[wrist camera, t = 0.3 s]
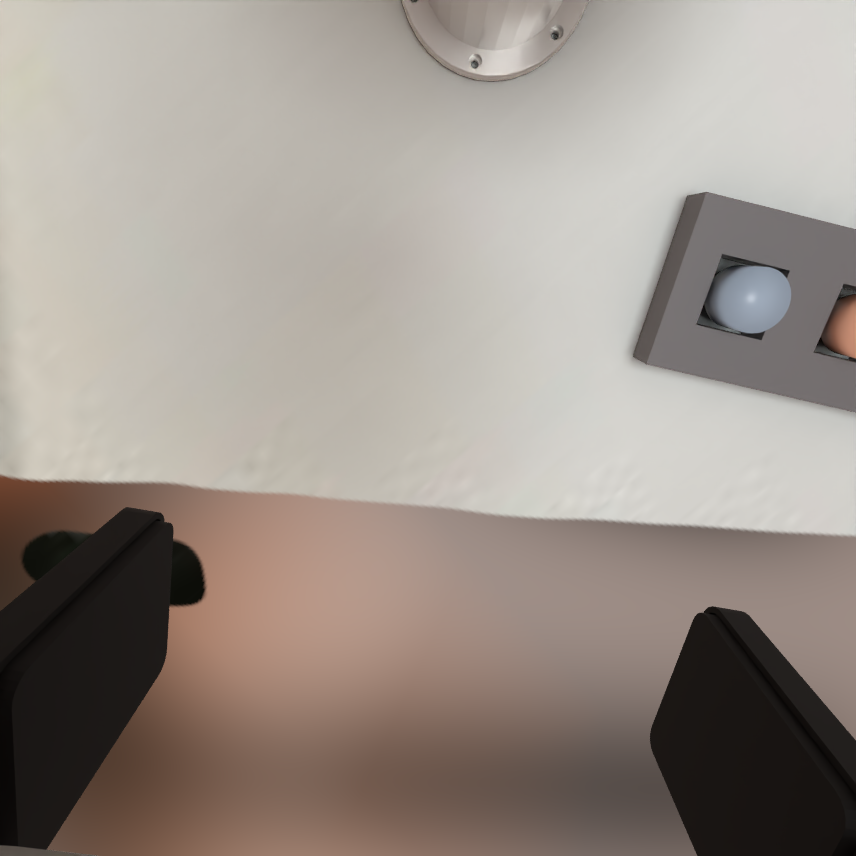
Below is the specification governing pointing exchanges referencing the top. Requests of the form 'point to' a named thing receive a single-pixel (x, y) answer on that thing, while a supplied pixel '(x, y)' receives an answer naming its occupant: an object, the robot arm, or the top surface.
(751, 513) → the top surface
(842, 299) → the terracotta button
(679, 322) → the button panel
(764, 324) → the slate blue button
